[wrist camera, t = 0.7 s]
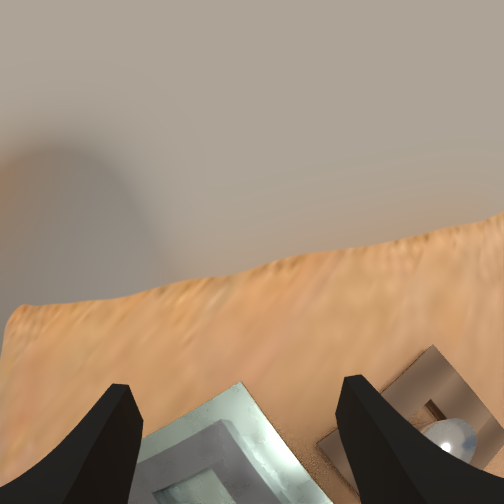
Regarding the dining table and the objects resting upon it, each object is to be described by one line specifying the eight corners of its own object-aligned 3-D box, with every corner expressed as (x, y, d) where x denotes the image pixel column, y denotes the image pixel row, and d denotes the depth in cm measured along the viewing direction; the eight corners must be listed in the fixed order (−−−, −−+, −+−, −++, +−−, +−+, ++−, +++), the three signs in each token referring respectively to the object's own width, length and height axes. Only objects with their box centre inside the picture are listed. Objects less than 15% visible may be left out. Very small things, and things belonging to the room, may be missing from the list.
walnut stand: (498, 438, 16) (509, 437, 15) (396, 536, 14) (402, 542, 13) (425, 350, 23) (432, 344, 21) (316, 443, 21) (317, 443, 19)
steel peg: (446, 444, 18) (486, 444, 12) (411, 478, 17) (442, 490, 11) (421, 414, 20) (454, 405, 14) (385, 447, 19) (409, 451, 14)
